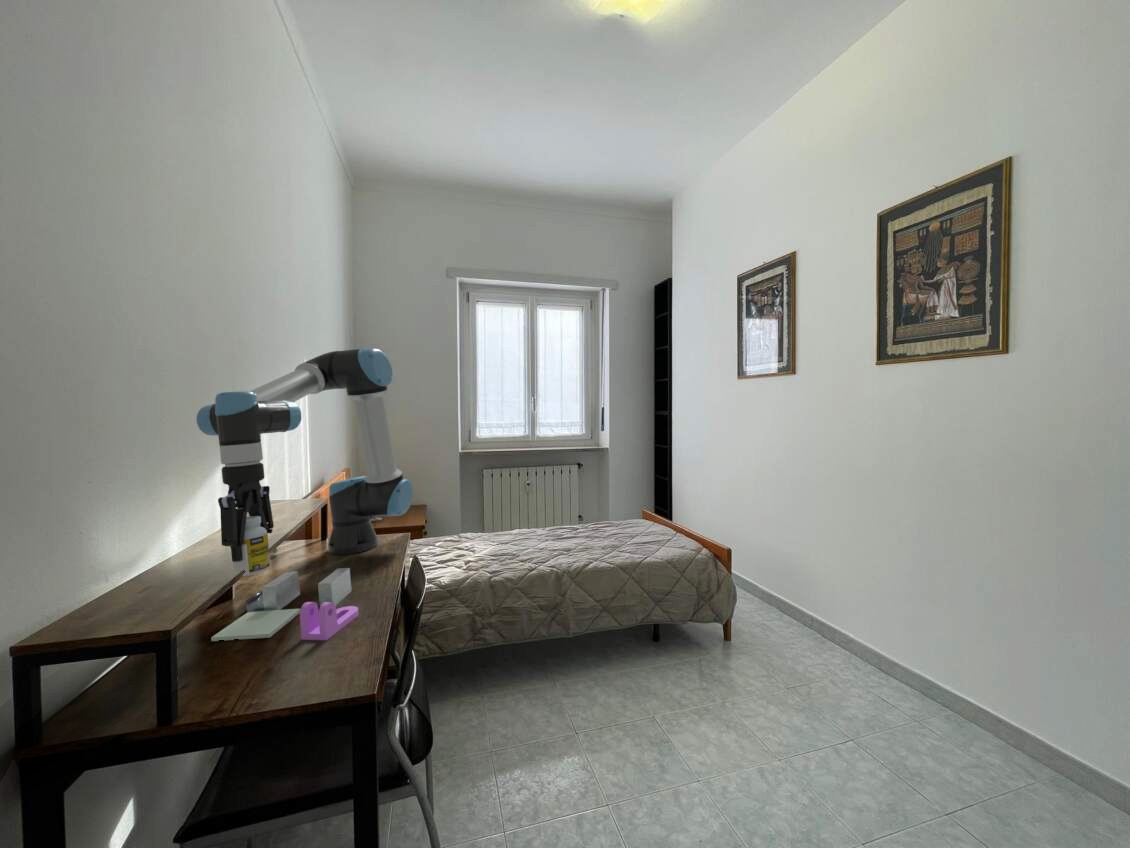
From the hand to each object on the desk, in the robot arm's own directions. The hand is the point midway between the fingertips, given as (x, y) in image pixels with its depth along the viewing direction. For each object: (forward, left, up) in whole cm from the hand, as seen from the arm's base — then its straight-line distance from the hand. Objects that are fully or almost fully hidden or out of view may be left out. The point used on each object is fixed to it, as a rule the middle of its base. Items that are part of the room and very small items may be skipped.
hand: (252, 569), depth 106 cm
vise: (-12, +2, -13) cm, 18 cm away
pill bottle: (0, 0, -1) cm, 1 cm away
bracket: (+2, +17, -13) cm, 22 cm away
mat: (0, 0, -13) cm, 13 cm away
